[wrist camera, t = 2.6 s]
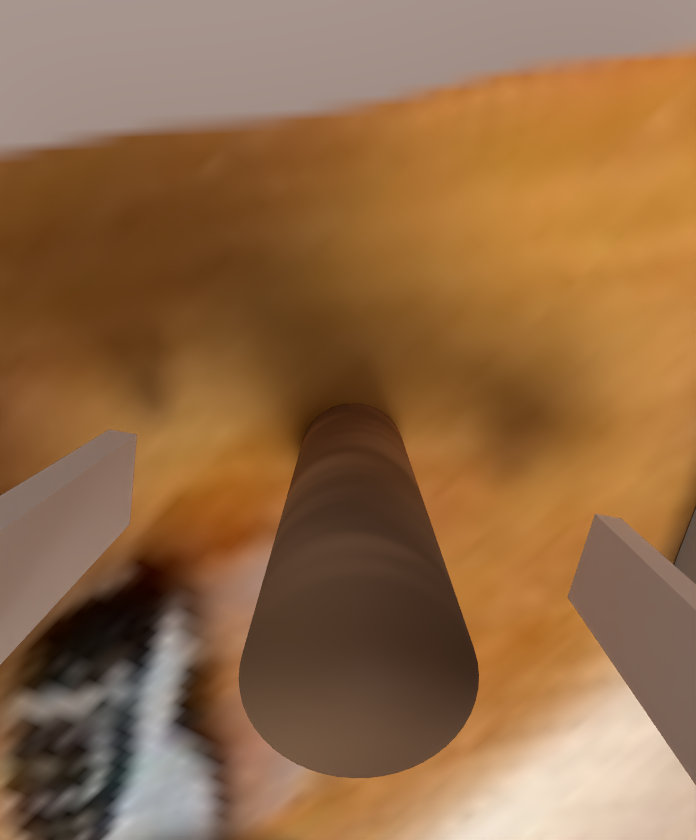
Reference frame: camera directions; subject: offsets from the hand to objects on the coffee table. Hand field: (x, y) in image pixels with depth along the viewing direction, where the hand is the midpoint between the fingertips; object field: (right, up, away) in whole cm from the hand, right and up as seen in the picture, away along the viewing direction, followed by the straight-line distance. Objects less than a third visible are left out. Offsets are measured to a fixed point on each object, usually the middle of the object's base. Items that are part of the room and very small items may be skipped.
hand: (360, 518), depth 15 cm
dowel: (0, +1, +6) cm, 6 cm away
